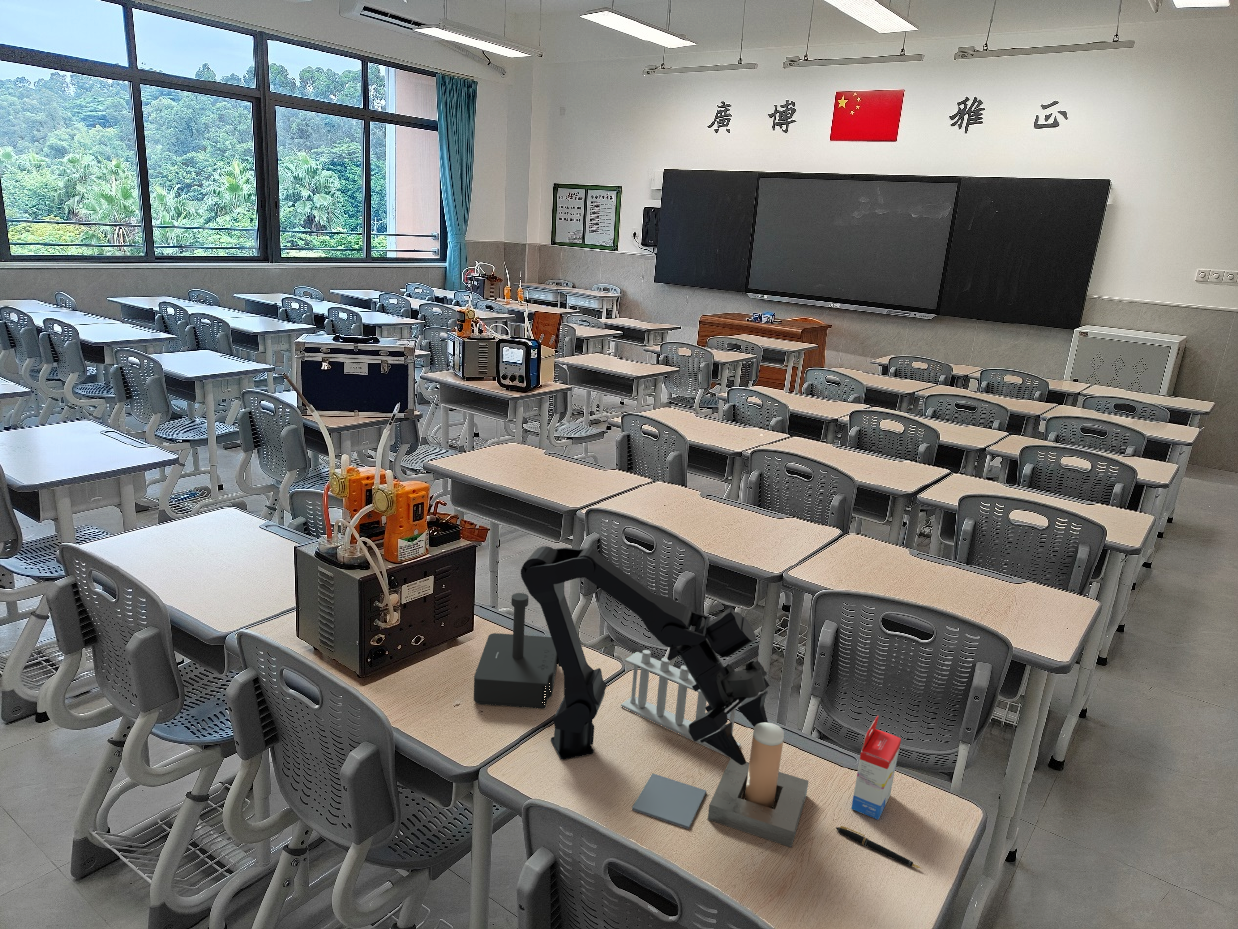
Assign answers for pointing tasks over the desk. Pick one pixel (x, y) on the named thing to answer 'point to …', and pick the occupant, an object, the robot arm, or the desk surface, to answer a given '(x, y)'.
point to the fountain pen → (873, 845)
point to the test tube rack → (659, 712)
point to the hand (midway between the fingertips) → (757, 751)
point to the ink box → (875, 771)
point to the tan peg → (764, 764)
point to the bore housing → (754, 816)
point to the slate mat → (669, 800)
